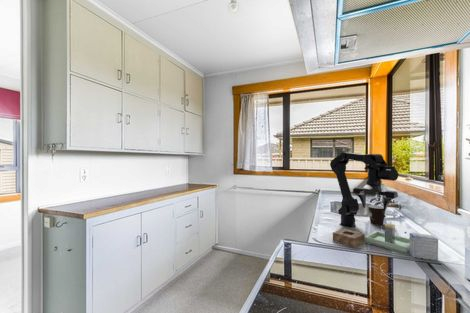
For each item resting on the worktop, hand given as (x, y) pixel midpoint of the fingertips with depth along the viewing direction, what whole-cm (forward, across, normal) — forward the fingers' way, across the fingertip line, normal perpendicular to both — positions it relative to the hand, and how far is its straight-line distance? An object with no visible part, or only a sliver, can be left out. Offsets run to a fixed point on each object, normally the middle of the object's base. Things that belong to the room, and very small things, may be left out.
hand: (374, 209), depth 114 cm
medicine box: (+13, +22, -12) cm, 28 cm away
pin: (+12, +9, -7) cm, 17 cm away
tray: (+13, +9, -7) cm, 17 cm away
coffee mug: (+13, -6, +21) cm, 26 cm away
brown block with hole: (+13, -4, -19) cm, 23 cm away
